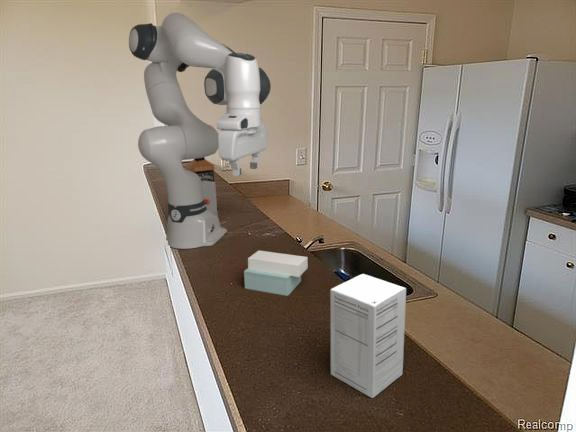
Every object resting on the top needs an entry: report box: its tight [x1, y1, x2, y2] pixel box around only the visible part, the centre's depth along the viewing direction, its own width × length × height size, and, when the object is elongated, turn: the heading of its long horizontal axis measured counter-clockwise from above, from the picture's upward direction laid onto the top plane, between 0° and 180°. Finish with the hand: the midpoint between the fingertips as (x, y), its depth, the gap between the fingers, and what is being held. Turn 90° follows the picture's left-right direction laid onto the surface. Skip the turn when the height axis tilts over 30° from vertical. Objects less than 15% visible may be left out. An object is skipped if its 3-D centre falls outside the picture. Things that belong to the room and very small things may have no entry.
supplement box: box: [329, 273, 407, 399], centre depth 74 cm, size 10×9×17 cm
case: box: [243, 267, 302, 297], centre depth 112 cm, size 9×12×5 cm
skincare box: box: [201, 181, 219, 218], centre depth 166 cm, size 8×7×16 cm
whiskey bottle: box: [185, 157, 219, 209], centre depth 181 cm, size 10×10×32 cm
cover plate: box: [247, 250, 309, 277], centre depth 110 cm, size 6×14×3 cm, turn 67°
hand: (245, 171), depth 116 cm, fingers open, 8 cm apart
